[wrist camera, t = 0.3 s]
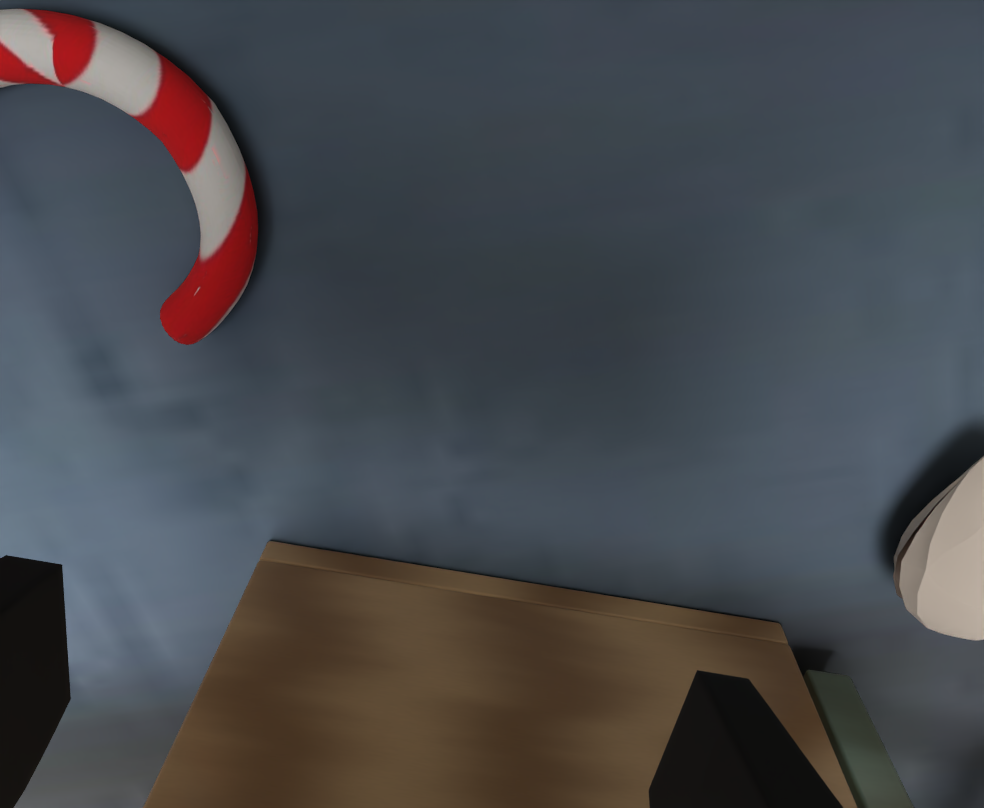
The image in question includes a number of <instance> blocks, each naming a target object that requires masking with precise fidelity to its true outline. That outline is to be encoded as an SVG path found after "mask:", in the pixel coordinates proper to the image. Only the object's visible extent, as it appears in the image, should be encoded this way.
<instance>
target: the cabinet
mask: <svg viewBox="0 0 984 808" xmlns="http://www.w3.org/2000/svg"><path fill="white" fill-rule="evenodd" d="M697 670H699V671H705V672H711V673H717V674H723V675H730V676H736V677H742V678H748V679H749V680H750V681H751V683H752V684H753V685H754V687H755V688H756V689H757V690H758V692H759V693H760V694H761V696H762V697H763V699H764V700H765V701H766V703H767V704H768V705H769V707H770V708H771V709H772V711H773V712H774V714H775V715H776V716H777V718H778V719H779V720H780V722H781V723H782V725H783V726H784V727H785V729H786V730H787V731H788V733H789V734H790V736H791V737H792V738H793V740H794V741H795V742H796V744H797V745H798V747H799V748H800V749H801V751H802V752H803V754H804V755H805V756H806V758H807V759H808V760H809V762H810V763H811V764H812V766H813V767H814V769H815V770H816V771H817V773H818V774H819V775H820V777H821V778H822V779H823V781H824V782H825V784H826V785H827V786H828V788H829V789H830V790H831V792H832V793H833V794H834V796H835V797H836V798H837V800H838V801H839V802H840V804H841V805H842V806H843V808H857V805H856V803H855V800H854V798H853V796H852V793H851V791H850V788H849V786H848V784H847V781H846V779H845V777H844V774H843V772H842V769H841V767H840V765H839V762H838V760H837V757H836V755H835V753H834V750H833V748H832V746H831V743H830V741H829V738H828V736H827V734H826V731H825V729H824V726H823V724H822V722H821V719H820V717H819V715H818V712H817V710H816V707H815V705H814V703H813V700H812V698H811V695H810V693H809V691H808V688H807V686H806V684H805V681H804V679H803V676H802V674H801V672H800V669H799V667H798V664H797V662H796V660H795V657H794V655H793V652H792V650H791V648H790V646H789V645H788V641H787V638H786V636H785V634H784V631H783V629H782V627H781V625H780V624H779V623H775V622H769V621H763V620H756V619H750V618H744V617H738V616H732V615H725V614H719V613H713V612H707V611H701V610H694V609H688V608H682V607H676V606H670V605H663V604H657V603H651V602H645V601H639V600H633V599H626V598H620V597H614V596H608V595H602V594H595V593H589V592H583V591H577V590H571V589H564V588H558V587H552V586H546V585H540V584H533V583H527V582H521V581H515V580H509V579H503V578H496V577H490V576H484V575H478V574H472V573H465V572H459V571H453V570H447V569H441V568H434V567H428V566H422V565H416V564H410V563H404V562H397V561H391V560H385V559H379V558H373V557H366V556H360V555H354V554H348V553H342V552H335V551H329V550H323V549H317V548H311V547H304V546H298V545H292V544H286V543H280V542H274V541H269V542H268V543H267V544H266V547H265V549H264V551H263V553H262V555H261V557H260V561H259V562H258V563H257V566H256V568H255V570H254V572H253V574H252V576H251V578H250V580H249V583H248V585H247V587H246V589H245V591H244V593H243V595H242V598H241V600H240V602H239V604H238V606H237V608H236V610H235V612H234V615H233V617H232V619H231V621H230V623H229V625H228V627H227V630H226V632H225V634H224V636H223V638H222V640H221V642H220V645H219V647H218V649H217V651H216V653H215V655H214V657H213V659H212V662H211V664H210V666H209V668H208V670H207V672H206V674H205V677H204V679H203V681H202V683H201V685H200V687H199V689H198V691H197V694H196V696H195V698H194V700H193V702H192V704H191V706H190V709H189V711H188V713H187V715H186V717H185V719H184V721H183V723H182V726H181V728H180V730H179V732H178V734H177V736H176V738H175V741H174V743H173V745H172V747H171V749H170V751H169V753H168V755H167V758H166V760H165V762H164V764H163V766H162V768H161V770H160V773H159V775H158V777H157V779H156V781H155V783H154V785H153V787H152V790H151V792H150V794H149V796H148V798H147V800H146V802H145V805H144V807H143V808H650V806H649V788H650V785H651V783H652V780H653V778H654V775H655V773H656V770H657V768H658V765H659V763H660V760H661V758H662V755H663V753H664V751H665V748H666V746H667V743H668V741H669V738H670V736H671V733H672V731H673V728H674V726H675V723H676V721H677V718H678V716H679V714H680V711H681V709H682V706H683V704H684V701H685V699H686V696H687V694H688V691H689V689H690V686H691V684H692V681H693V679H694V676H695V674H696V672H697Z"/></svg>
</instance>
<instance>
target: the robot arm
mask: <svg viewBox="0 0 984 808" xmlns="http://www.w3.org/2000/svg"><path fill="white" fill-rule="evenodd" d="M70 699H71V697H70V682H69V666H68V651H67V635H66V619H65V604H64V588H63V573H62V565H61V564H55V563H49V562H43V561H37V560H31V559H25V558H19V557H13V556H7V555H6V556H4V557H2V558H0V808H13V807H14V806H15V804H16V803H17V801H18V799H19V798H20V796H21V795H22V793H23V792H24V790H25V788H26V787H27V785H28V783H29V781H30V779H31V777H32V775H33V773H34V771H35V769H36V767H37V765H38V764H39V762H40V760H41V758H42V756H43V754H44V752H45V750H46V748H47V746H48V744H49V742H50V740H51V738H52V736H53V734H54V732H55V730H56V728H57V726H58V724H59V722H60V720H61V718H62V716H63V714H64V712H65V709H66V707H67V705H68V703H69V701H70ZM649 806H650V808H843V806H842V805H841V804H840V802H839V801H838V800H837V798H836V797H835V796H834V794H833V793H832V792H831V790H830V789H829V788H828V786H827V785H826V784H825V782H824V781H823V779H822V778H821V777H820V775H819V774H818V773H817V771H816V770H815V769H814V767H813V766H812V764H811V763H810V762H809V760H808V759H807V758H806V756H805V755H804V754H803V752H802V751H801V749H800V748H799V747H798V745H797V744H796V742H795V741H794V740H793V738H792V737H791V736H790V734H789V733H788V731H787V730H786V729H785V727H784V726H783V725H782V723H781V722H780V720H779V719H778V718H777V716H776V715H775V714H774V712H773V711H772V709H771V708H770V707H769V705H768V704H767V703H766V701H765V700H764V699H763V697H762V696H761V694H760V693H759V692H758V690H757V689H756V688H755V687H754V685H753V684H752V683H751V681H750V680H749V679H748V678H742V677H736V676H730V675H723V674H717V673H711V672H705V671H699V670H697V672H696V674H695V676H694V679H693V681H692V684H691V686H690V689H689V691H688V694H687V696H686V699H685V701H684V704H683V706H682V709H681V711H680V714H679V716H678V718H677V721H676V723H675V726H674V728H673V731H672V733H671V736H670V738H669V741H668V743H667V746H666V748H665V751H664V753H663V755H662V758H661V760H660V763H659V765H658V768H657V770H656V773H655V775H654V778H653V780H652V783H651V785H650V788H649Z"/></svg>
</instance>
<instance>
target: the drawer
mask: <svg viewBox="0 0 984 808" xmlns="http://www.w3.org/2000/svg"><path fill="white" fill-rule="evenodd" d="M803 679H804V681H805V684H806V686H807V688H808V691H809V693H810V695H811V698H812V700H813V703H814V705H815V707H816V710H817V712H818V715H819V717H820V719H821V722H822V724H823V726H824V729H825V731H826V734H827V736H828V738H829V741H830V743H831V746H832V748H833V750H834V753H835V755H836V757H837V760H838V762H839V765H840V767H841V769H842V772H843V774H844V777H845V779H846V781H847V784H848V786H849V788H850V791H851V793H852V796H853V798H854V800H855V803H856V805H857V808H914V807H913V804H912V802H911V800H910V798H909V796H908V794H907V792H906V790H905V788H904V786H903V784H902V782H901V780H900V778H899V776H898V774H897V772H896V770H895V768H894V766H893V764H892V762H891V760H890V757H889V755H888V753H887V751H886V749H885V747H884V745H883V743H882V741H881V739H880V737H879V735H878V733H877V731H876V729H875V727H874V725H873V723H872V721H871V719H870V717H869V715H868V713H867V710H866V708H865V706H864V704H863V702H862V700H861V698H860V696H859V694H858V692H857V690H856V688H855V686H854V684H853V682H852V680H851V678H850V677H849V676H847V675H841V674H834V673H828V672H822V671H815V670H807V671H806V672H805V674H804V677H803Z"/></svg>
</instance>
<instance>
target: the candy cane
mask: <svg viewBox="0 0 984 808" xmlns="http://www.w3.org/2000/svg"><path fill="white" fill-rule="evenodd" d="M30 83H32V84H50V85H56V86H62V87H68V88H71V89H75V90H79V91H82V92H85V93H88V94H91V95H93V96H96V97H98V98H101V99H103V100H105V101H107V102H109V103H110V104H112V105H114V106H116V107H118V108H120V109H121V110H123V111H124V112H126V113H127V114H129V115H130V116H132V117H133V118H135V119H136V120H137V121H139V122H140V123H141V124H142V125H144V126H145V127H146V128H148V129H149V130H150V131H151V132H152V133H153V134H154V135H155V136H157V137H158V138H159V139H160V140H161V141H162V142H163V144H164V145H165V147H166V148H167V150H168V151H169V153H170V154H171V155H172V157H173V158H174V160H175V162H176V164H177V165H178V167H179V169H180V170H181V172H182V174H183V176H184V178H185V180H186V182H187V184H188V186H189V188H190V191H191V193H192V196H193V199H194V202H195V205H196V208H197V212H198V217H199V222H200V231H201V242H200V250H199V255H198V258H197V260H196V262H195V264H194V266H193V268H192V270H191V271H190V273H189V275H188V276H187V278H186V279H185V281H184V282H183V283H182V284H181V285H180V286H179V287H178V289H177V290H176V291H175V292H174V293H173V294H171V295H170V297H169V298H168V299H167V300H166V301H165V302H164V303H163V305H162V307H161V310H160V319H161V322H162V326H163V327H164V329H165V331H166V332H167V333H168V335H169V336H170V337H172V338H173V339H174V340H175V341H177V342H179V343H181V344H186V345H189V344H194V343H196V342H198V341H200V340H202V339H203V338H205V337H206V336H207V335H209V334H210V333H211V332H212V331H213V330H214V329H215V328H216V327H217V326H218V325H219V324H220V323H221V322H222V321H223V320H224V319H225V317H226V316H227V315H228V314H229V313H230V311H231V310H232V309H233V307H234V306H235V304H236V303H237V302H238V300H239V299H240V297H241V295H242V294H243V292H244V290H245V288H246V286H247V284H248V282H249V279H250V276H251V273H252V270H253V267H254V262H255V257H256V252H257V241H258V216H257V207H256V201H255V196H254V190H253V187H252V184H251V180H250V177H249V173H248V170H247V167H246V165H245V162H244V160H243V157H242V155H241V152H240V149H239V147H238V145H237V143H236V141H235V139H234V137H233V135H232V133H231V131H230V129H229V127H228V125H227V123H226V122H225V120H224V118H223V117H222V115H221V113H220V112H219V110H218V108H217V107H216V105H215V103H214V102H213V101H212V100H211V99H210V98H209V97H208V96H207V95H206V94H205V93H204V92H203V91H202V90H201V89H200V88H199V87H198V85H197V84H196V83H195V82H194V81H193V80H192V79H191V78H190V77H189V76H188V75H187V74H185V73H184V72H183V71H182V70H180V69H179V68H178V67H177V66H175V65H174V64H173V63H172V62H170V61H169V60H168V59H166V58H165V57H163V56H162V55H160V54H159V53H157V52H156V51H154V50H153V49H151V48H150V47H148V46H147V45H145V44H143V43H142V42H140V41H138V40H136V39H134V38H132V37H130V36H128V35H126V34H125V33H123V32H120V31H118V30H116V29H113V28H111V27H108V26H106V25H103V24H101V23H98V22H95V21H91V20H88V19H84V18H81V17H78V16H74V15H70V14H64V13H59V12H53V11H48V10H32V9H5V10H0V88H1V87H6V86H10V85H18V84H30Z"/></svg>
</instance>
